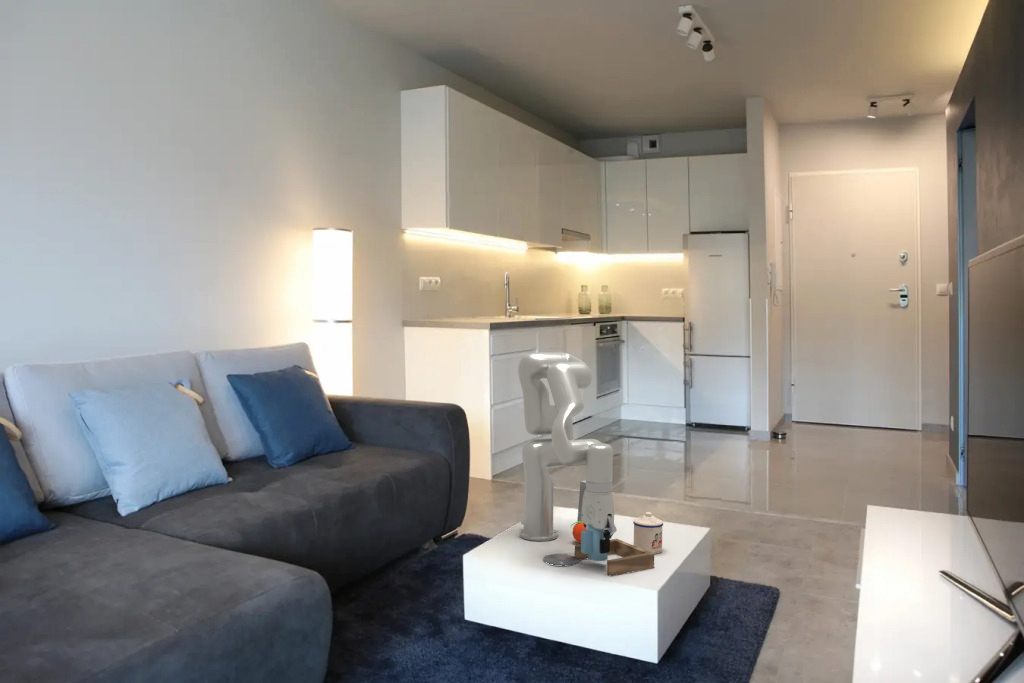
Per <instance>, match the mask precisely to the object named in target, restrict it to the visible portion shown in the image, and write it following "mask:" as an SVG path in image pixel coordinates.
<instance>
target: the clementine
mask: <svg viewBox="0 0 1024 683" xmlns="http://www.w3.org/2000/svg"><path fill="white" fill-rule="evenodd" d="M572 526H573V527H572ZM571 527H572V536H573V538H574V540H575V541H576V542H577V543H579V544H581V531H585V527H584V523H583V522H582V521H578V522H577V521H575V522H574V523H572V524H571V525H570V527H569V528H571Z"/></svg>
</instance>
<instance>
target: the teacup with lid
mask: <svg viewBox="0 0 1024 683" xmlns="http://www.w3.org/2000/svg"><path fill="white" fill-rule="evenodd" d="M632 522H633V523H632V524H633V545H634V546H636V547H639V548H641V549H644V550H646V551H649V552H651V553H654V555H657V554H660V553H662V550H663V526H664V522H663V520H662V519H659V518H657V517H655V516H654V515H653V514H652V512H650V511H647V512H645V513H644V515H641V516H639V517H637V518H636V517H635V518H634V519H633V521H632Z"/></svg>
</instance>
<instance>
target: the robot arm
mask: <svg viewBox="0 0 1024 683" xmlns="http://www.w3.org/2000/svg"><path fill="white" fill-rule="evenodd" d="M517 367H518V369H517V370H518V373H517V374H518V379H519V383H520V387H521V390H522V396H523V398H522V399H523V413H524V414H523V415H524V426H525V430H526V432H527V433H528V434H529V435H532V436H533V435H534V436H543V435H544V436H545V435H551V438H539V439H538V438H537V439H536V438H535V439H532V440H529V441H527V442H525V444H524V445H523V446H522V448H521V449H522V450H521V459H522V464H523V472H524V473H523V475H524V504H523V505H524V507H523V508H524V510H523V511H524V512H523V516H524V517H523V519H521V520H520V524H521V525H523V528H522V529H520V530H519V532H518V536H519V538H522V539H523V540H528V541H535V542H546V541H552V540H555V539H557V538H558V536H559V532H558V531H557V530H554V497H555V494H554V493H555V492H554V490H555V486H554V485H555V484H554V480H553V477H552V476H551V474H550V472H549V471H548V469H552V468H553V469H554V468H555V469H556V468H562V467H577V466H585V467H586V468H585V480H586V490H585V491H584V495H583V501H582V513H581V520H582V522H583V523H584V527H585V530H588V523H589V524H591V525H593V527H594V528H595V529H598V530H600V533H601V538H602V539H600V553H601V554H603V553H609V552H610V540H612V539H613V538H612V537H613V535H614V534H615V533H616V532H617V527H616V525H615V503H614V496H613V465H614V463H613V461H614V460H613V459H614V450H613V447H612V445H610V444H609V443H602V442H601V441H600V440H598V439H595V438H585V439H581V438H580V439H574V428H573V418H575V417H576V416H577V415H580V413H581V412H583V410H584V408H585V402H584V400H583V397H582V394H581V391H580V390H581V389H586V388H588V387H589V386H590V385H591V384H592V381H593V380H592V379H593V376H592V371H591V369H590V367H589V365H588V364H587V363H586V362H584V361H583V360H581V359H579V358H578V357H577V356H574V355H572V354H570V353H568V352H563V351H562V352H552V351H551V352H549V351H547V352H545V351H543V352H540V351H539V352H530V353H527V354H525V355H523V356H522V357H521V358H520V360H519V363H518V366H517ZM541 379H547V383H548V387H549V390H550V391H549V390H548V387H547V386H546V385H545V383H544V382H543V381H542V380H541ZM549 392H550V393H551V395H552V399H553V402H554V404H553V405H551V403H550V393H549ZM606 525H607V528H605V526H606ZM604 530H606V531H607V532H606V533H604Z"/></svg>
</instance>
